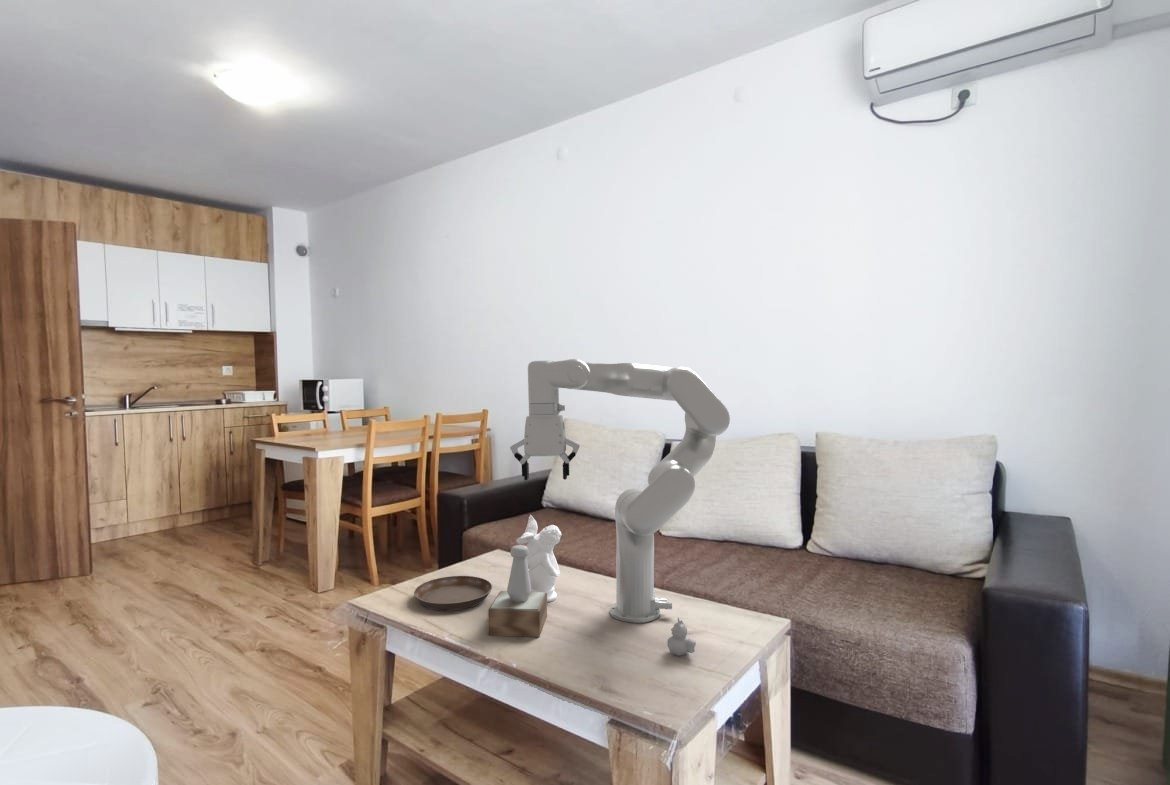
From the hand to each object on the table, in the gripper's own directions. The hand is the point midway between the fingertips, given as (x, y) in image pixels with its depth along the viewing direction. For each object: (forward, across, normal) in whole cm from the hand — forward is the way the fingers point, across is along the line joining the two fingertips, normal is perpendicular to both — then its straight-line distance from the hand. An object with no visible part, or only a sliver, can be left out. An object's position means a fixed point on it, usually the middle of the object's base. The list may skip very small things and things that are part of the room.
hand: (545, 479), depth 147 cm
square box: (+35, +7, +5) cm, 36 cm away
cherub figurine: (+35, +6, -13) cm, 38 cm away
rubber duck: (+36, -31, +18) cm, 51 cm away
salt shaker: (+28, +7, +5) cm, 30 cm away
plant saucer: (+35, +28, -11) cm, 46 cm away
